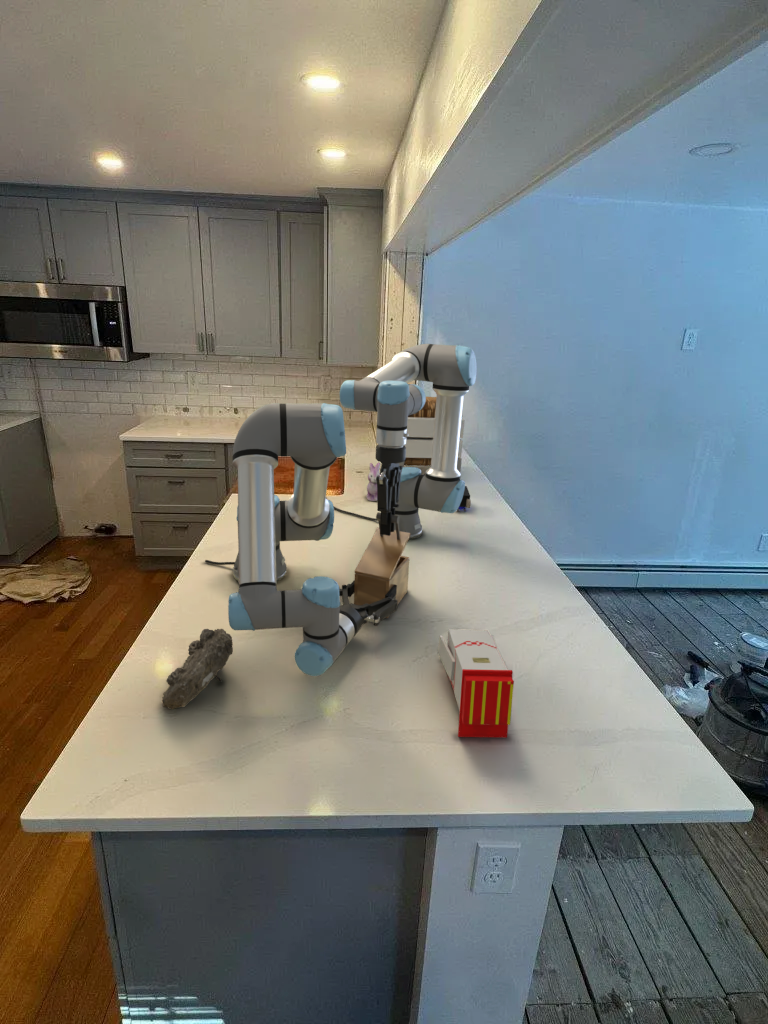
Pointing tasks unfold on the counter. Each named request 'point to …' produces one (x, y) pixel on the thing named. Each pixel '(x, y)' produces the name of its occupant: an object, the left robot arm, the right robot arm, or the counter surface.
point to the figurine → (373, 482)
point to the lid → (383, 552)
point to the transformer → (424, 436)
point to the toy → (478, 682)
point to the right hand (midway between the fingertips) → (387, 532)
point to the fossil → (198, 667)
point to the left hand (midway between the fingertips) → (376, 585)
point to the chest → (381, 585)
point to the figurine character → (465, 500)
